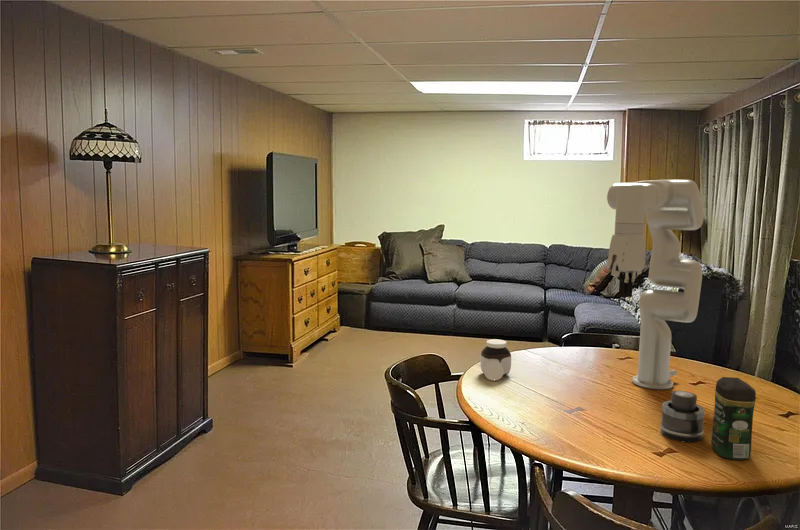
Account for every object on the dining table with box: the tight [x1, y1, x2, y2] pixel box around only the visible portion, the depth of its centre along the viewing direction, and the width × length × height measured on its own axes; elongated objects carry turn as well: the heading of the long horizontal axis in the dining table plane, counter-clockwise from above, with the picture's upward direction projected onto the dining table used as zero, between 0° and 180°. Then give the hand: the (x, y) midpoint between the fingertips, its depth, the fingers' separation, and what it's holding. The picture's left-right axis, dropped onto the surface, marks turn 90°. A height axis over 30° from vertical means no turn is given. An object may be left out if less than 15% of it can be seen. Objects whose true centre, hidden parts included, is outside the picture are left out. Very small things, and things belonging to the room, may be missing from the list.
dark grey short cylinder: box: [670, 390, 698, 412], centre depth 162 cm, size 6×6×5 cm
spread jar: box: [479, 338, 512, 382], centre depth 209 cm, size 12×11×12 cm
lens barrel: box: [659, 399, 706, 443], centre depth 162 cm, size 10×10×8 cm
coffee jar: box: [710, 376, 757, 461], centre depth 151 cm, size 10×8×19 cm
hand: (625, 296), depth 169 cm, fingers closed
